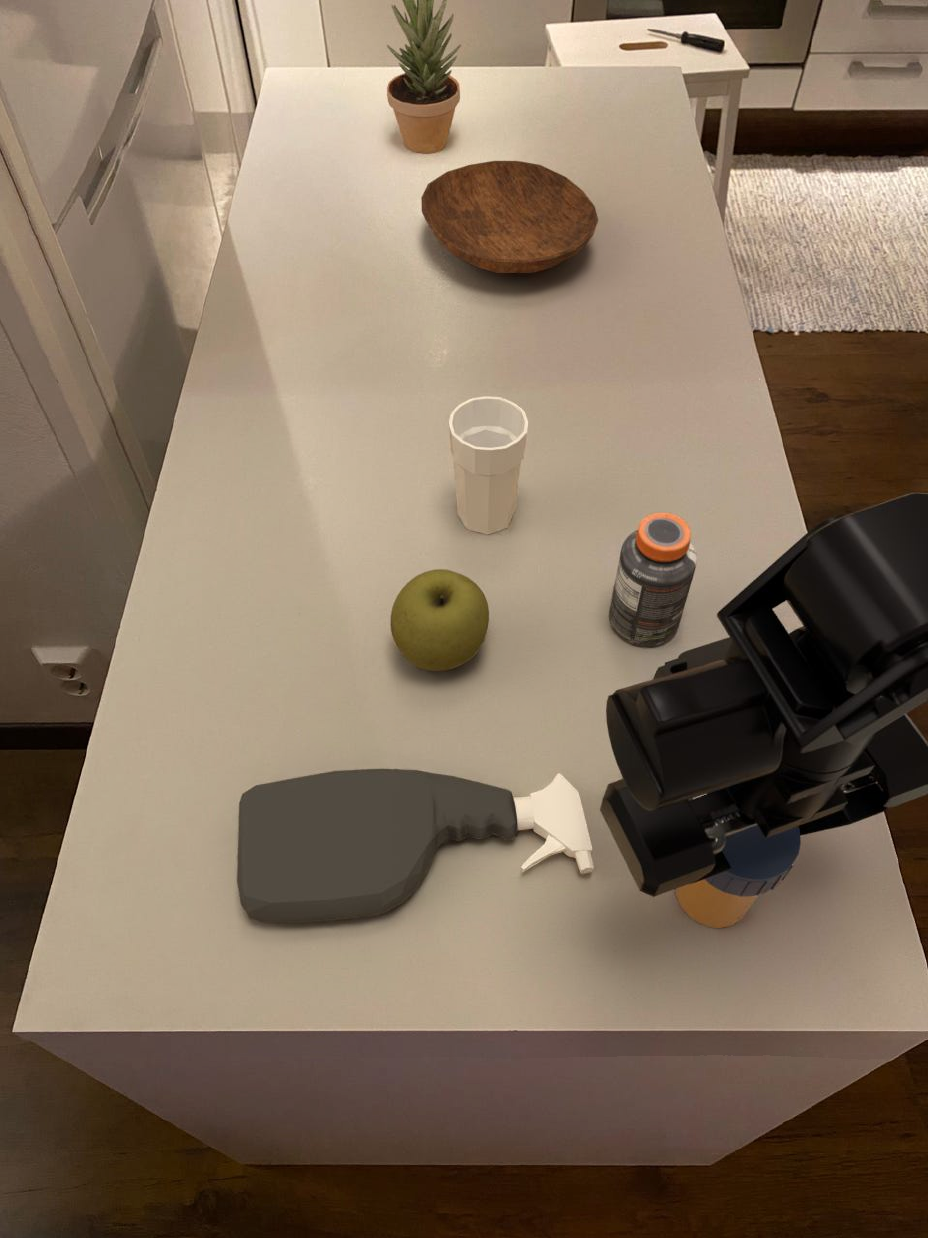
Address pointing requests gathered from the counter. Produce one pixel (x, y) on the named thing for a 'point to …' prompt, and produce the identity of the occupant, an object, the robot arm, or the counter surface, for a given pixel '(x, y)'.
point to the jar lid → (756, 861)
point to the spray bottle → (380, 837)
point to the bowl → (509, 215)
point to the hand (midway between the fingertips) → (736, 848)
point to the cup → (487, 460)
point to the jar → (712, 904)
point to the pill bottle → (653, 580)
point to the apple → (439, 620)
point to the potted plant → (424, 79)
